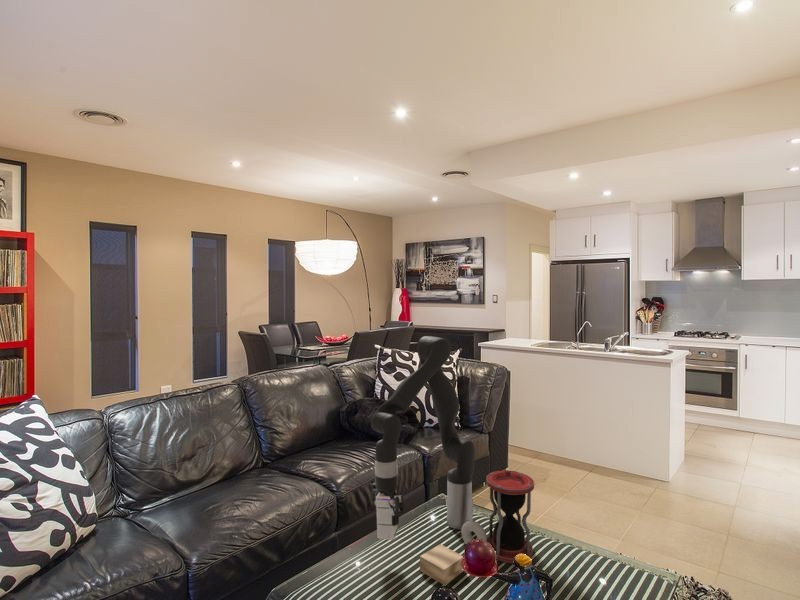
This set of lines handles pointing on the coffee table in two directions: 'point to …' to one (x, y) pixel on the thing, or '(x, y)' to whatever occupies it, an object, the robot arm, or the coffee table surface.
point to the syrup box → (385, 518)
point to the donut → (475, 528)
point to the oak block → (441, 564)
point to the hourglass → (509, 514)
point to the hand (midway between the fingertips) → (387, 520)
